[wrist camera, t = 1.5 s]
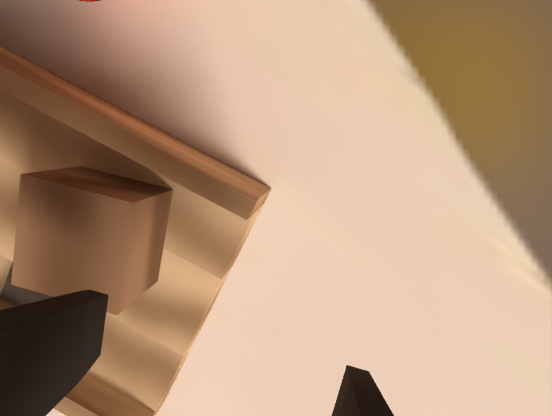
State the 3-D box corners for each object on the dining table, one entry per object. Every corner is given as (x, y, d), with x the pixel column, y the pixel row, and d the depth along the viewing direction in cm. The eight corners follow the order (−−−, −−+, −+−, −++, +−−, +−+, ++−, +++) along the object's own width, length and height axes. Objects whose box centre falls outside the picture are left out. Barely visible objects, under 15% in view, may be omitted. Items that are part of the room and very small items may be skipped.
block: (173, 189, 20) (133, 202, 16) (157, 281, 21) (116, 315, 17) (81, 166, 20) (20, 173, 16) (70, 257, 21) (11, 284, 17)
